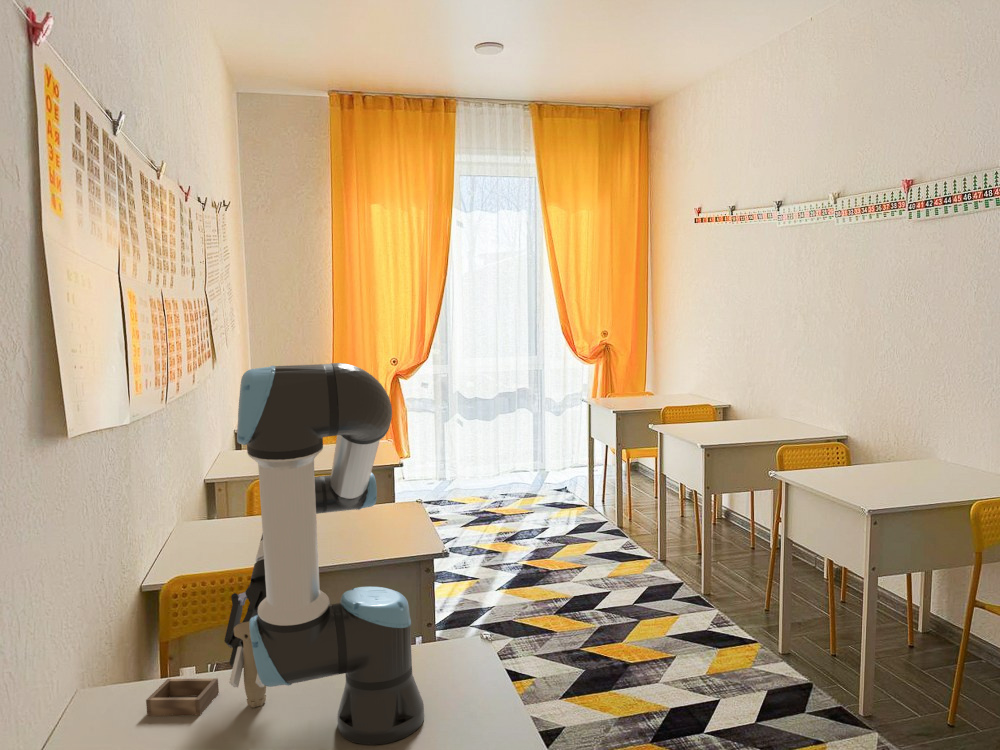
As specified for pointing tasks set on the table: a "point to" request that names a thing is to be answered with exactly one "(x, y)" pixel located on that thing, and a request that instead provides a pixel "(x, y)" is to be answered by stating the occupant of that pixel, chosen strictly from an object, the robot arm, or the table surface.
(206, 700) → the socket block
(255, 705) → the handle
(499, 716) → the table surface
